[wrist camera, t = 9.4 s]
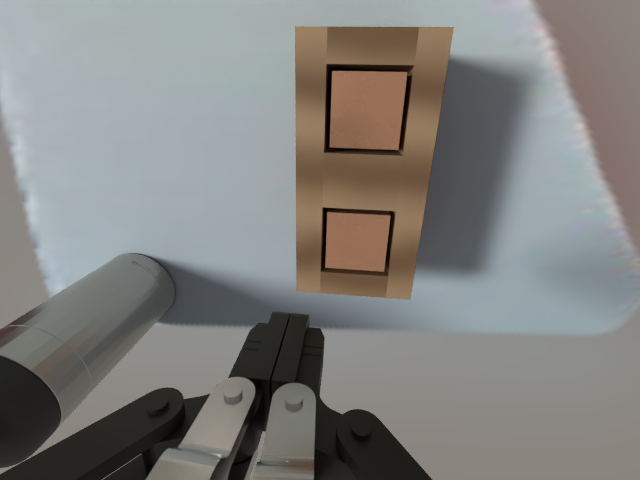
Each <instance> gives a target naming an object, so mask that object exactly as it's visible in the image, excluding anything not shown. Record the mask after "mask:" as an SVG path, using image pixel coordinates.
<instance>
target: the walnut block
mask: <svg viewBox="0 0 640 480" xmlns="http://www.w3.org/2000/svg"><path fill="white" fill-rule="evenodd" d="M453 28H454V27H295V73H296V257H297V291H304V292H317V293H330V294H344V295H357V296H370V297H383V298H397V299H410V298H411V292H412V286H413V279H414V273H415V267H416V261H417V254H418V248H419V242H420V235H421V229H422V223H423V217H424V210H425V204H426V198H427V191H428V185H429V179H430V173H431V166H432V160H433V154H434V147H435V141H436V135H437V129H438V122H439V116H440V110H441V103H442V97H443V91H444V85H445V78H446V72H447V66H448V59H449V53H450V47H451V41H452V34H453ZM332 71H374V72H407V80H406V89H405V97H404V106H403V114H402V123H401V132H400V140H399V149H398V150H386V149H359V148H331V147H330V120H331V91H332ZM328 208H344V209H363V210H382V211H389V212H390V215H391V217H390V225H389V234H388V242H387V251H386V259H385V268H384V272H381V271H366V270H352V269H337V268H325V263H326V234H327V211H328Z"/></svg>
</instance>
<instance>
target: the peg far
mask: <svg viewBox="0 0 640 480" xmlns="http://www.w3.org/2000/svg"><path fill="white" fill-rule="evenodd" d="M390 217H391V215H390V212H389V211H382V210H363V209H344V208H328V211H327V234H326V263H325V268H337V269H352V270H366V271H381V272H384V268H385V259H386V251H387V242H388V234H389V225H390Z"/></svg>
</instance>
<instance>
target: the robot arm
mask: <svg viewBox="0 0 640 480" xmlns="http://www.w3.org/2000/svg"><path fill="white" fill-rule="evenodd" d="M174 299H175V287H174V284H173V281H172V279H171V277H170V276H169V274H168V273H167V271H166V270H165V269H164V268H163V267H162V266H161V265H160V264H158V263H157V262H155V261H154V260H152V259H151V258H148V257H146V256H143V255H139V254H124V255H120V256H118V257H116V258H114V259H113V260H111V261H110V262H108V263H106V264H105V265H103V266H102V267H100V268H98V269H97V270H95V271H93V272H92V273H90V274H88V275H87V276H85V277H84V278H82V279H80V280H79V281H77V282H75V283H74V284H72V285H71V286H69V287H67V288H66V289H64V290H63V291H61V292H59V293H58V294H56V295H55V296H53V297H51V298H50V299H48V300H47V301H45V302H43V303H42V304H40V305H39V306H37V307H35V308H34V309H32V310H30V311H29V312H27V313H26V314H24V315H22V316H21V317H19V318H18V319H16V320H14V321H13V322H11V323H10V324H8V325H6V326H5V327H3V328H2V329H0V468H3V467H9V466H12V465H15V464H18V463H20V462H22V461H23V460H25V459H27V458H28V457H29V456H31V455H32V454H33V453H34V452H35V451H36V450H37V449H38V448H39V447H40V446H41V445H42V444H43V443H44V442H45V441H46V440H47V439H48V438H49V437H50V436H51V435H52V434H53V432H54V431H55V430H56V429H57V428H58V427H59V426H60V425H61V424H62V423H63V422H64V421H65V420H66V418H67V417H68V416H69V415H70V414H71V413H72V412H73V411H74V410H75V409H76V408H77V407H78V406H79V405H80V404H81V402H82V401H83V400H84V399H85V398H86V397H87V396H88V395H89V394H90V393H91V391H92V390H93V389H94V388H95V387H96V386H97V385H98V384H99V383H100V382H101V381H102V380H103V379H104V378H105V376H106V375H107V374H108V373H109V372H110V371H111V370H112V369H113V368H114V367H115V366H116V365H117V364H118V362H119V361H120V360H121V359H122V358H123V357H124V356H125V355H126V354H127V353H128V352H129V351H130V350H131V349H132V348H133V347H134V345H135V344H136V343H137V342H138V341H139V340H140V339H141V338H142V337H143V336H144V335H145V333H147V332H148V330H149V329H150V328H151V327H152V326H153V325H154V324H155V323H156V322H157V321H158V320H159V319H160V318H161V317H162V316H163V315H164V313H165V312H166V311H167V310H168V309H169V308H170V307H171V306H172V304H173V302H174ZM323 352H324V336H323V333H322V331H321V329H319V328H309V315H304V314H293V313H292V314H291V313H282V312H273V313H272V315H271V318H270V320H269V323H268V324H265V323H258V324H257V325H256V326H255V327H254V328H253V329H251V330H250V332H249V335H248V336H247V339H246V342H245V343H244V345H243V347H242V350H241V351H240V354H239V356H238V358H237V360H236V362H235V364H234V366H233V369H232V371H231V373H230V375H229V377H228V379H225V380H223V381H222V382H220V383H219V384H218V385H216V387H215V388H214V389H213V391H212V392H211V393H210V394H208V395H205V396H200V397H195V398H189V399H183V396H182V393H181V392H179V391H178V390H177V389H174V388H161V389H157V390H154V391H152V392H150V393H148V394H146V395H145V396H143V397H141V398H139V399H137V400H135V401H133V402H132V403H130V404H128V405H126V406H124V407H122V408H121V409H119V410H117V411H115V412H113V413H111V414H110V415H108V416H106V417H104V418H102V419H101V420H99V421H97V422H95V423H93V424H91V425H90V426H88V427H86V428H84V429H82V430H80V431H79V432H77V433H75V434H73V435H71V436H70V437H68V438H66V439H64V440H62V441H60V442H59V443H57V444H55V445H53V446H51V447H49V448H48V449H46V450H44V451H42V452H40V453H38V454H37V455H35V456H33V457H31V458H30V459H28V460H26V461H24V462H22V463H20V464H19V465H17V466H15V467H13V468H11V469H9V470H7V471H6V472H4V473H2V474H0V480H102V479H103V478H105V477H106V476H108V475H109V474H111V473H112V472H114V471H115V470H117V469H118V468H120V467H121V466H123V465H124V464H126V463H127V462H129V461H130V460H132V459H133V458H135V457H136V456H138V455H139V454H141V455H140V456H138V457H136V458H135V459H134V460H132V461H131V462H129V463H127V464H126V465H124V466H123V467H121V468H120V469H119V470H117V471H115V472H114V473H112V474H111V475H109V476H108V477H106V478H105V479H103V480H249V477H250V475H251V472H252V469H253V466H254V463H255V460H256V458H257V454H258V444H259V441H260V438H261V434H262V431H266V433H265V438H264V443H263V449H262V455H261V459H260V462H258V463H257V464H256V468H255V472H254V476H253V480H432V479H431V478H430V477H429V476H428V474H427V473H426V472H425V471H424V470H423V469H422V468H421V466H420V465H419V464H418V463H417V462H416V461H415V460H414V458H413V457H411V455H410V454H409V453H408V452H407V451H406V450H405V448H404V447H403V446H402V445H401V444H400V443H399V442H398V441H397V439H396V438H395V437H394V436H393V435H392V434H391V433H390V431H389V430H388V429H387V428H386V427H385V426H384V425H383V423H382V422H381V421H380V420H379V419H378V418H377V417H376V416H375V415H373V414H371V413H370V412H368V411H365V410H359V409H355V410H350V411H348V412H346V413H344V414H343V415H342V414H340V413H338V412H336V411H334V410H332V409H330V408H329V407H327V406H326V405H325V404H324V403H323V401H322V400H321V398H320V396H319V395H320V386H321V377H322V368H323Z"/></svg>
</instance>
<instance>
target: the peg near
mask: <svg viewBox="0 0 640 480" xmlns="http://www.w3.org/2000/svg"><path fill="white" fill-rule="evenodd" d="M406 80H407V72H374V71H332V91H331V120H330V147H331V148H359V149H386V150H398V149H399V140H400V132H401V123H402V114H403V106H404V97H405V89H406Z"/></svg>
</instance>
